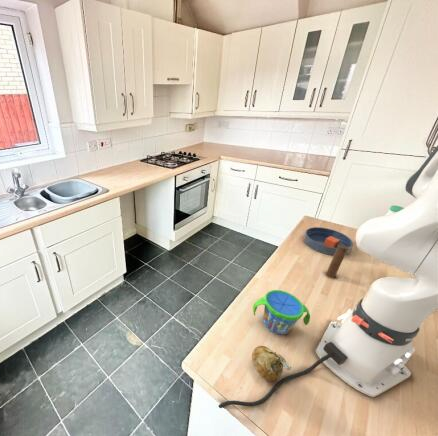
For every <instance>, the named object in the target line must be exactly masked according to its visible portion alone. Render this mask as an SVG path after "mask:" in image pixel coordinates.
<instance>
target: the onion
mask: <svg viewBox="0 0 438 436" xmlns="http://www.w3.org/2000/svg"><path fill="white" fill-rule="evenodd" d="M251 361H252V364H253V366H254V368H255V370H256V372H257V373H258V374H259V376H260V377H261V378H262V379H264V380H266V381H277V380H278V379H280V377H281V376H282V374H283V372H284V368H285V370H286V371H290V370H291V369H292V368H293V367H292V366H291V365H290V364H289V363H288V362H287V361H286V360H285V358H284V357H283V356H282V354H281V355H280V354H278V353H277V352H275V351H273V350H271V348H269V347H268V346H265V345H258V346H256V347H255V348H254V349H253V351H252V354H251Z"/></svg>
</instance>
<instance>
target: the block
mask: <svg viewBox="0 0 438 436" xmlns="http://www.w3.org/2000/svg"><path fill="white" fill-rule="evenodd" d="M339 241H340V240H339V239H337V238H334V237H332V236H330V237H328V238H326V240H325V242H324V245H325V246H328V247H333V248H336V247H337V246H338V244H339Z"/></svg>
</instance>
